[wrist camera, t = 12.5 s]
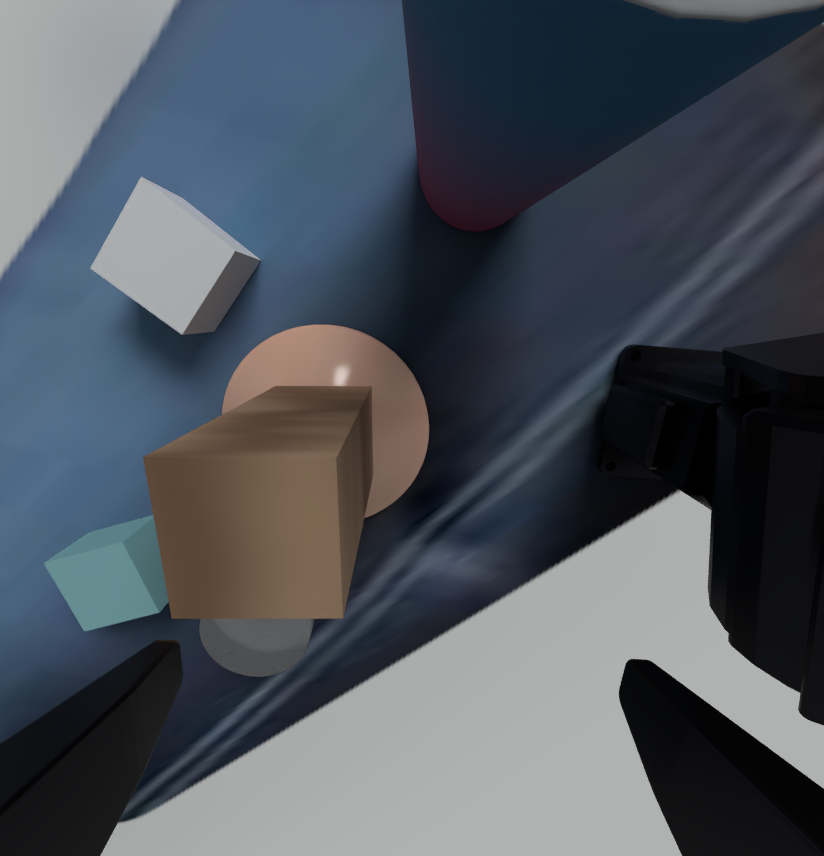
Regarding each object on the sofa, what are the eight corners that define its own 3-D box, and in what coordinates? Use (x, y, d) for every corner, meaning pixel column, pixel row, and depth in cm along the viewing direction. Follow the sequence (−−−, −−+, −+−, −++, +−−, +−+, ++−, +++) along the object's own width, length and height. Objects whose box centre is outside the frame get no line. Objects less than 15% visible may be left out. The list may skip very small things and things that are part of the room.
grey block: (184, 199, 18) (141, 176, 15) (262, 261, 18) (235, 251, 16) (139, 275, 19) (90, 268, 16) (215, 331, 19) (181, 334, 16)
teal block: (160, 512, 22) (122, 542, 19) (190, 574, 23) (159, 612, 20) (91, 530, 22) (43, 563, 19) (125, 591, 23) (84, 631, 20)
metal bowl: (311, 531, 22) (292, 578, 18) (333, 608, 23) (321, 666, 19) (221, 548, 22) (183, 598, 18) (248, 623, 23) (219, 684, 20)
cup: (499, 283, 19) (820, 171, 4) (368, 199, 18) (195, -325, 3) (588, 134, 17) (1586, -855, 3) (451, 34, 16) (831, -2399, 2)
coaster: (437, 333, 19) (438, 333, 19) (419, 524, 22) (419, 529, 21) (223, 315, 19) (217, 315, 18) (230, 511, 22) (225, 516, 21)
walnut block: (371, 386, 19) (335, 458, 10) (373, 475, 20) (342, 618, 11) (275, 385, 19) (143, 457, 10) (283, 475, 20) (171, 618, 11)
